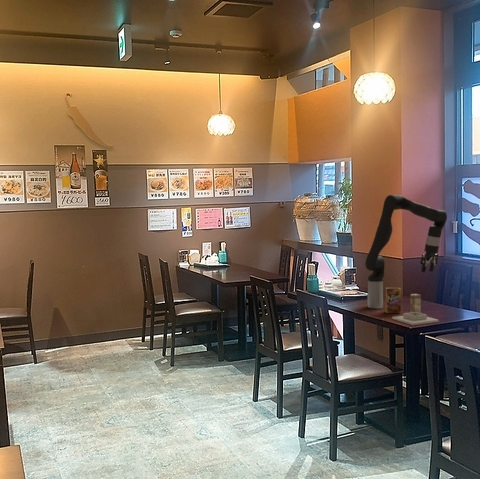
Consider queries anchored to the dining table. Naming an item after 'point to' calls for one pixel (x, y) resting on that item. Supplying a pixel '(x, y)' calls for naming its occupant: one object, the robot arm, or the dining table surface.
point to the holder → (415, 318)
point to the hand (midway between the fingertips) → (427, 271)
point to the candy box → (393, 300)
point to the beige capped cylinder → (415, 303)
